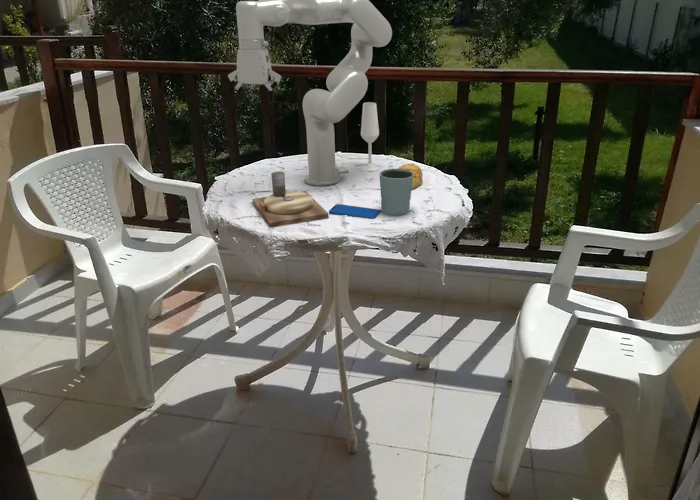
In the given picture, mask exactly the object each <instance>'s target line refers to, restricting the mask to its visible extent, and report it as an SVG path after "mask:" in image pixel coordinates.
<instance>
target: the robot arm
mask: <svg viewBox="0 0 700 500" xmlns="http://www.w3.org/2000/svg"><path fill="white" fill-rule="evenodd" d="M235 11H236V12H235V13H236V24H237V34H238V35H237V36H238V46H239V49H238V50H237V55H236V70H233V71H232V72H230V73H229V74H227V77H228V79H229V81H230V83H231V85H232V86H233V87H234V88H235V90H236V91H237V99H238V102H239V104H241V103H244V102H245V101H246V95H245V94H246V93H245V88H244V86H245V85H264V87H266V89H267V90H266V96H267V104H268V105H272V104H273V103H274V101H275V89H276V88H277V87H278V85H280V82H281V79H282V75H280V74H279V73H277V72H276V71H274V70H273V69H272V65H271V64H272V63H271V60H270V59H271V58H270V54H269V51H268V49H265V48H266V47H269V41H266V40H265V36H264V34H265V33H264V26H267V27H268V26H269V27H281V26H284V25H286V24H300V25H307V26H308V25H309V26H310V25H311V26H312V25H326V24H341V23H351V24H352V26H351V29H350V30H351V31H350V38H351V45H350V49H349V52H348V53H347V54H346V55H345V57H344V58H343V59H342V60H340V62H339V63H338V64H337V65H336V66H335V67H334V69H332V70H331V72H330V73H329V74H328V75H327V78H326V82H325V84H326V88H327V89H328V90H325V89H321V88H313V89H310V90H308V91H307V92H306V93H305V94H304V96H303V99H302V111H303V112H302V113H303V116H304V121H305V128H306V129H305V130H306V144H307V145H306V146H307V147H306V148H307V165H308V174H307V175H305V177H304V183H306V184H307V185H310V186H316V187H320V186H321V187H323V186H324V187H326V186H332V185H335V184H337V183H339V182H340V180H341V176H340V175H341V174H349V173H350V169H349V167H343V166H339V167H338V166H336V150H335V149H336V144H335V126H334V124H336V123H339V122H341V120H343V119H344V118H345V117H346V116H347V115H349V113H350V112H351V111H352V110H354V108H355V107H356V106H357V104H359V102H360V101H361V100H362V99H363V98H364V96H365V95H366V92H367V91H368V88H369V87H368V85H369V81H368V78H367V75H366V72H367V71H369V70H368V69H370V67H371V64H372V61H373V47H374V48H375V47H376V48H381V47H386V46H387V45H388V44H389V43H390V41H391V40H392V37H393V30H392V27H391V24H390V23H389V21H388V20H387V19H386V17H384V16H383V14H382V13H381V12H380V11H379V9H377V8H376V7H375V6H374V4H373V3H372V2H371V0H242V1H238V2H236V6H235ZM235 77H237V79H236V78H235ZM273 78H274V82H272V81H273Z"/></svg>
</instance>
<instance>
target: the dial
mask: <svg viewBox="0 0 700 500" xmlns="http://www.w3.org/2000/svg"><path fill="white" fill-rule="evenodd" d="M285 178H286V177H285V172H284V171H274V172H271V184H272V185H271V187H272V194H270V195H268V196H265V197H266V198H265V200H264V205H265V209H266V210H268V211H270V212H273V213H278V214H293V213H299V212H303V211H306V210H308V209H310V208H311V207H312V206H313V199H314V197H313V196H312V194H310V193H308V192H307V193H308V194H307V193H304V192H302V191H296V190H295V191H293V190H292V191H291V190H289V191H287V190H286V179H285Z"/></svg>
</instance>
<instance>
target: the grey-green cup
mask: <svg viewBox="0 0 700 500" xmlns="http://www.w3.org/2000/svg"><path fill="white" fill-rule="evenodd" d="M378 174H379V185H380V186H379V187H380V206H381V207H380V210H381V212H382V214H384V215H387V216H393V217H397V216H398V217H399V216H404V215H407V214H408V213H409V212H410V204H411V197H412V190H413V189H412V182H413V176H414V174H413V172H411V171H409V170H405V169H397V168H388V169H382V170H381V171H380V172H379V173H378Z"/></svg>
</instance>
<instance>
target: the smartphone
mask: <svg viewBox="0 0 700 500" xmlns="http://www.w3.org/2000/svg"><path fill="white" fill-rule="evenodd" d="M381 212H382V210H381V209H377V208H371V207H370V208H369V207H363V206H357V205H347V204H340V203H337V204H336V203H335V204H334V205H333V206H332V207H331V208H330V209H329V210H328V215H329V214H330V215H335V216H341V215H347V216H346V217H350V216H352V218H359V219H370V220H375V219H376V218H377V217H378V216H379V215H380V214H381Z"/></svg>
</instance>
